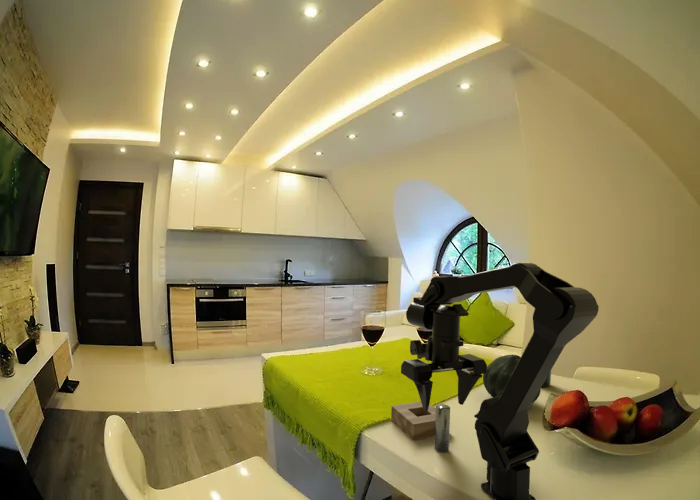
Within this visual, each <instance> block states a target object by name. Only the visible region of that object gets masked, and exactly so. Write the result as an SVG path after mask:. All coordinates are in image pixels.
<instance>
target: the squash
mask: <svg viewBox="0 0 700 500" xmlns="http://www.w3.org/2000/svg"><path fill="white" fill-rule="evenodd" d="M520 358H521V356H520V355H517V354H507V355H501V356H499V357H497V358H494V360H492V361H491V362H490V363H489V364H488V365H487V373H485V374H482V382H483V386H484V388H485V390H486V391H487V392H486V393H488V394H489V395H490V396H491V398H493V397H497V396H501V394H502V392H503V390H504V388H505V386H506V385H507V383H508V381H509V379H510V377H511V375H512V373H513V371H514V369H515V367H516V365H517V364H518V362H519V360H520ZM541 392H542V391H541V389H540V390H539V392H538V394H537V396H536V397H535V399H534V401H533V403H532V404H534V403H535V402H536V401H537V400H538V398H539V396H540V395H541Z"/></svg>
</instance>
